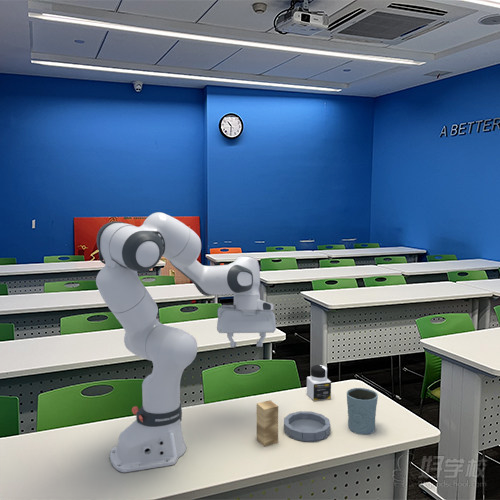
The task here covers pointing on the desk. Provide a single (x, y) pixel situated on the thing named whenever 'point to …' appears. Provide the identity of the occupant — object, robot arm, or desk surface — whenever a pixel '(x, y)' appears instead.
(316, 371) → the medicine bottle
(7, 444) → the desk surface
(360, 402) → the blue-grey cup
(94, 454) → the desk surface
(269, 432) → the oak block
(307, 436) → the bowl
